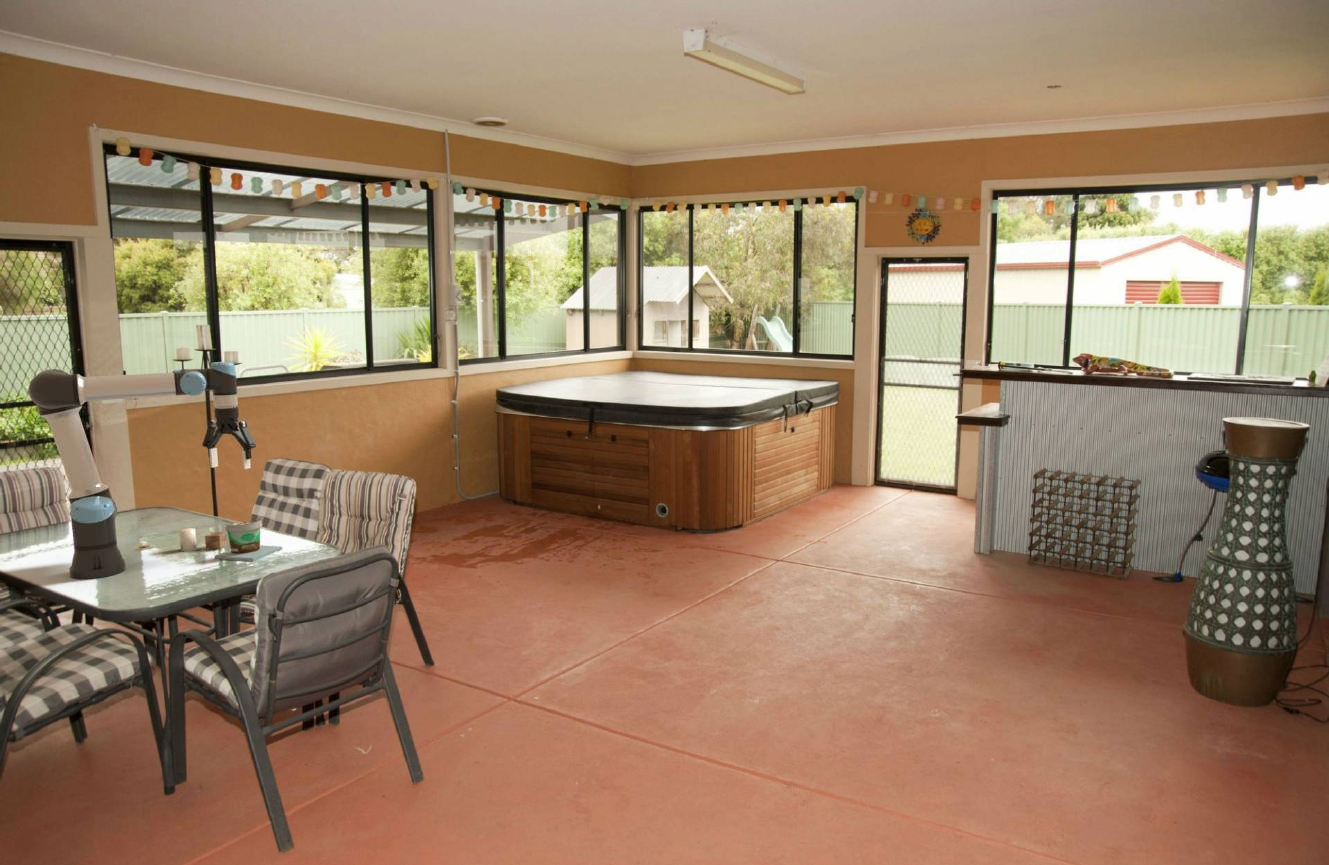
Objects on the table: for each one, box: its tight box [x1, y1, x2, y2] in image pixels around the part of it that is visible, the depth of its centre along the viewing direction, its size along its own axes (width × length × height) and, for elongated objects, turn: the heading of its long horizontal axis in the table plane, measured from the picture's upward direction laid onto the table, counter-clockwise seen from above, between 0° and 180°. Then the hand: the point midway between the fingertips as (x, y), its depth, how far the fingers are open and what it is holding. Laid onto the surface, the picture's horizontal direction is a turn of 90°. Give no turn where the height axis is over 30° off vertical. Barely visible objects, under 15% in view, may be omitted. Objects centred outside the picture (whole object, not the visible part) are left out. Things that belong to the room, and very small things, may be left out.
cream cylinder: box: [178, 527, 198, 552], centre depth 321 cm, size 5×5×7 cm
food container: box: [224, 517, 263, 554], centre depth 314 cm, size 12×6×10 cm, turn 143°
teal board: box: [214, 544, 283, 562], centre depth 315 cm, size 15×15×1 cm
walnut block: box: [204, 531, 228, 550], centre depth 323 cm, size 5×5×5 cm
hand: (230, 467), depth 322 cm, fingers open, 13 cm apart
